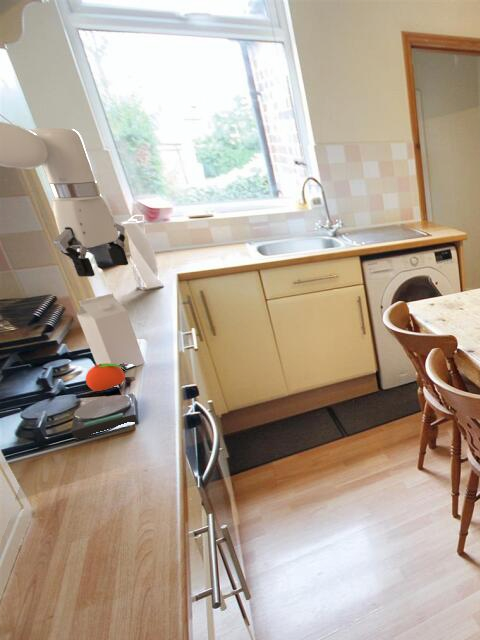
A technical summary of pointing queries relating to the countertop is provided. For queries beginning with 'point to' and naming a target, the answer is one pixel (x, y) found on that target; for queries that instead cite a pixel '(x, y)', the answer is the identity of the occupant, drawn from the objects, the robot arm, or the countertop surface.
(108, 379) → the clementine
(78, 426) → the scale
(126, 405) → the scale pan
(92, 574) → the countertop surface
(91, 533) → the countertop surface
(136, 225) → the white tapered tower
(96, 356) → the milk carton
